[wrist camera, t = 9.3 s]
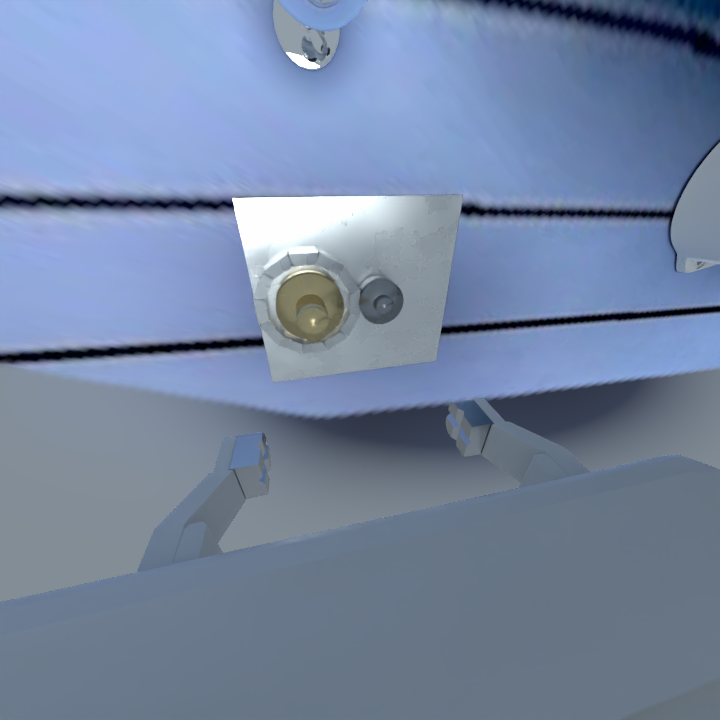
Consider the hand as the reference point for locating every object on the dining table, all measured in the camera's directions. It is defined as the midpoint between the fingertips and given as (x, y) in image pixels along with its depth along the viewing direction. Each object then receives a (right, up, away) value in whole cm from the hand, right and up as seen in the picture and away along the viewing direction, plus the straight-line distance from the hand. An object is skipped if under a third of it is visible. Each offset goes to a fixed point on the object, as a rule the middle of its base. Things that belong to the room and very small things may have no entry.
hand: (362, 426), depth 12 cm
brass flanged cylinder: (-5, +9, +15) cm, 18 cm away
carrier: (-1, +10, +17) cm, 20 cm away
